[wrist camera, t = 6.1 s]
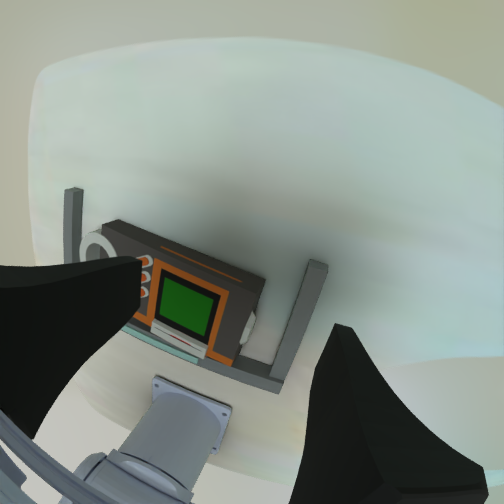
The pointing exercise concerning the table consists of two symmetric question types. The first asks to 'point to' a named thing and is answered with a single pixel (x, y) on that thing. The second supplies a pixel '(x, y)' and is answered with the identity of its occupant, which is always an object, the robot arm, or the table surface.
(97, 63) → the table surface
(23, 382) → the robot arm
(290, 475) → the table surface
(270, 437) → the table surface
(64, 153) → the table surface
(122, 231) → the electronic device
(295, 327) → the dock
